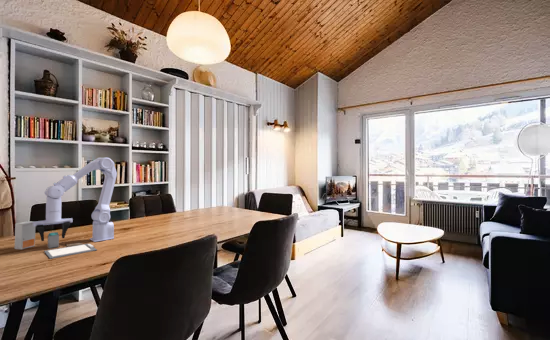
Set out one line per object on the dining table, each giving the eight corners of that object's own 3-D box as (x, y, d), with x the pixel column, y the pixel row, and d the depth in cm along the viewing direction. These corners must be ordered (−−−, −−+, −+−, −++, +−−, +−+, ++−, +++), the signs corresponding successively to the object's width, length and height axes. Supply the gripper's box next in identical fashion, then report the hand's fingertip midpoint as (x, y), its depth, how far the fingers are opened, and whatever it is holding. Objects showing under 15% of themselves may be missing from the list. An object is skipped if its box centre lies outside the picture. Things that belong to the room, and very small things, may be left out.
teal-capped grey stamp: (57, 246, 131) (57, 231, 131) (58, 247, 128) (58, 233, 128) (47, 247, 128) (47, 233, 128) (49, 249, 126) (49, 234, 126)
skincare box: (21, 249, 124) (21, 223, 124) (14, 249, 125) (14, 223, 125) (35, 246, 130) (36, 221, 130) (28, 245, 131) (29, 220, 131)
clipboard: (88, 244, 135) (88, 242, 135) (96, 250, 125) (96, 248, 125) (44, 251, 122) (44, 249, 122) (50, 259, 113) (50, 256, 113)
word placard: (80, 242, 137) (80, 242, 137) (82, 244, 134) (82, 243, 134) (65, 245, 132) (65, 244, 132) (67, 246, 130) (67, 246, 130)
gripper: (70, 208, 136) (69, 235, 136) (32, 211, 125) (31, 240, 125) (73, 210, 132) (73, 237, 132) (34, 213, 121) (33, 243, 121)
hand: (53, 239), depth 128 cm, fingers open, 7 cm apart
